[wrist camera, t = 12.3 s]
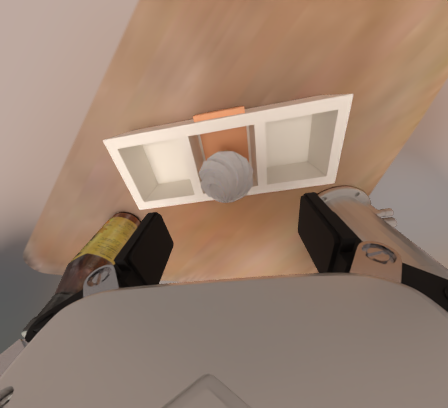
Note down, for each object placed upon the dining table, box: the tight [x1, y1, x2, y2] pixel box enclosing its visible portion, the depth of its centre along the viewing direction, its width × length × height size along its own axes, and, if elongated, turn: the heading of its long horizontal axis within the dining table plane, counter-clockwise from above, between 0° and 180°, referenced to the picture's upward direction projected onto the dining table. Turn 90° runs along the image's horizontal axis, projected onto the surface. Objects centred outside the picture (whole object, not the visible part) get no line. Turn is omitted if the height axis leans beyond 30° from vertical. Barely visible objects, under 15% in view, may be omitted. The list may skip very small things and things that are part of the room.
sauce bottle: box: [22, 213, 140, 337], centre depth 27 cm, size 7×6×20 cm
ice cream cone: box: [199, 150, 253, 203], centre depth 19 cm, size 6×6×15 cm
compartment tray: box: [103, 94, 353, 210], centre depth 23 cm, size 28×11×7 cm, turn 99°
